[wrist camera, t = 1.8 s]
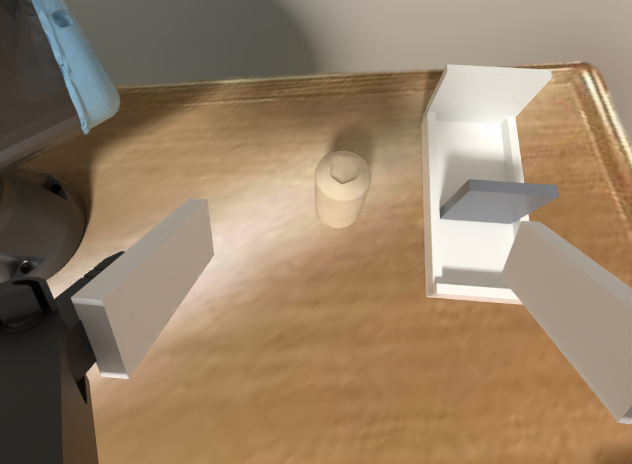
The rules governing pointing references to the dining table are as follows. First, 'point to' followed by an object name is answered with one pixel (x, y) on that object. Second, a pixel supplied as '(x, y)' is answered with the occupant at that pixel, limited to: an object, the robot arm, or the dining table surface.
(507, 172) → the pusher lane
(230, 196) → the dining table surface
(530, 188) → the plate
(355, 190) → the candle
